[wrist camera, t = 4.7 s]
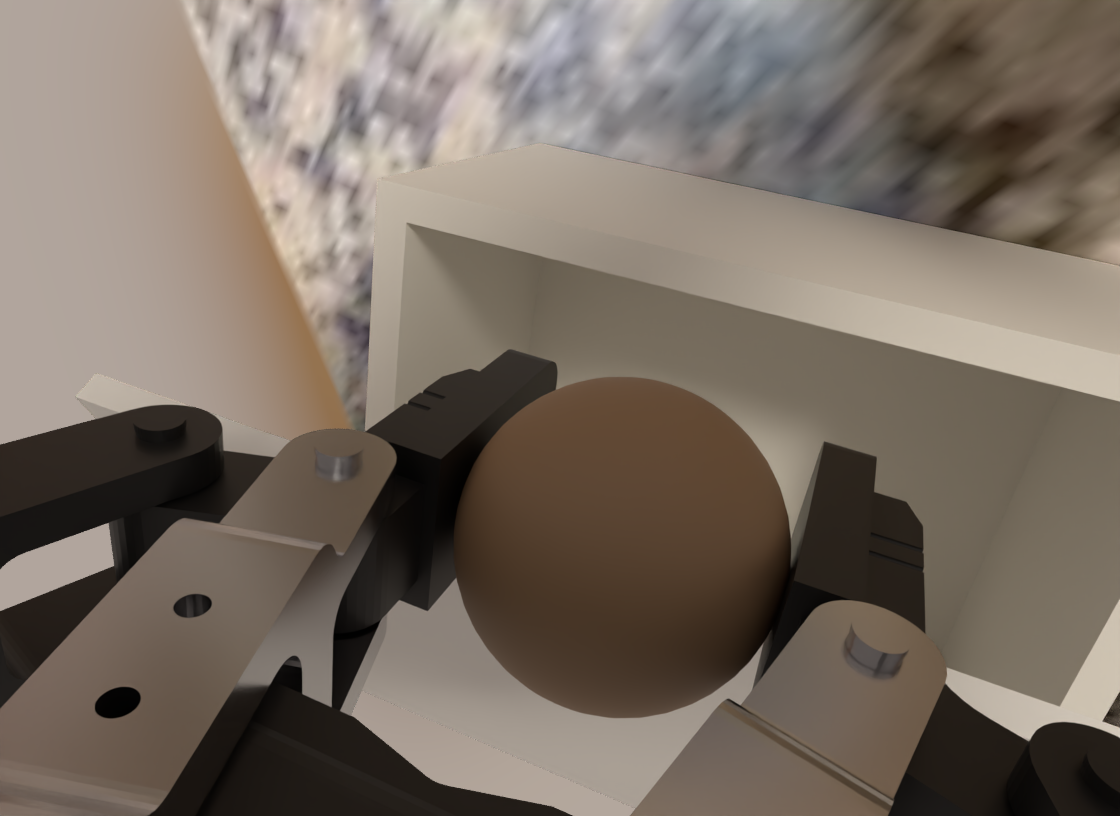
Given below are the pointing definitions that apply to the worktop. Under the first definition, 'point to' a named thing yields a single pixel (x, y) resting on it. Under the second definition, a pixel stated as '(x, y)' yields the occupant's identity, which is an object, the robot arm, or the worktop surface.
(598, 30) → the worktop surface
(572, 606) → the carton lid
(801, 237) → the carton
